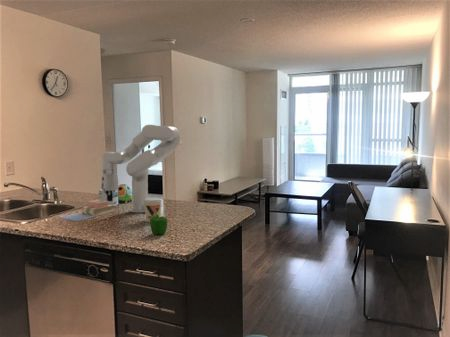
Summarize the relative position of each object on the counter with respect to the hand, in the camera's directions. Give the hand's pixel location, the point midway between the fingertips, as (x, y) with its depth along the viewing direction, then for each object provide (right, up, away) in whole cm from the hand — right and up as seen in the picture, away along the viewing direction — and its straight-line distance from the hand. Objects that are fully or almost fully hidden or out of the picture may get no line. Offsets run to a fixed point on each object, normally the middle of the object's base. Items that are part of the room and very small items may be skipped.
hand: (109, 200), depth 242 cm
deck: (-5, -7, -7) cm, 11 cm away
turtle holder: (+1, -3, +31) cm, 31 cm away
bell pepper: (+40, -12, -54) cm, 68 cm away
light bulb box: (-5, -5, +15) cm, 17 cm away
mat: (-13, -8, -19) cm, 25 cm away
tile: (-5, -3, -8) cm, 9 cm away
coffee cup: (+32, -9, -27) cm, 43 cm away
